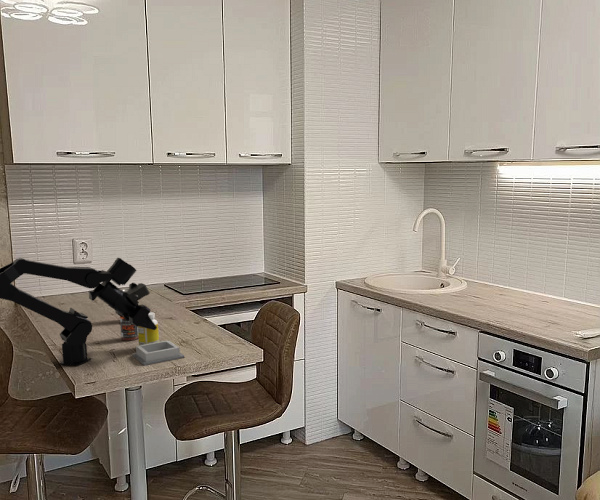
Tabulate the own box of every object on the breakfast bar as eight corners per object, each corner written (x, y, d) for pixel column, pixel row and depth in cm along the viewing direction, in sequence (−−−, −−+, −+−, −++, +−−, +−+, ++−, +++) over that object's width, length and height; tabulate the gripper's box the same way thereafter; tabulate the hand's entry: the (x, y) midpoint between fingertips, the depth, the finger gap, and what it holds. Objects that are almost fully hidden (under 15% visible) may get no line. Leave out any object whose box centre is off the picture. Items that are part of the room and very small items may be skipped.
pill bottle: (161, 344, 185) (159, 311, 183) (157, 350, 179) (154, 315, 177) (141, 345, 185) (139, 311, 183) (136, 351, 178) (134, 316, 177)
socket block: (144, 365, 164) (143, 355, 164) (132, 355, 174) (131, 345, 174) (184, 357, 170) (183, 347, 170) (170, 348, 180) (170, 339, 180)
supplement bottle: (121, 342, 190) (118, 308, 189) (121, 337, 196) (119, 304, 194) (140, 340, 192) (137, 306, 190) (139, 335, 197) (137, 303, 196)
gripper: (141, 279, 169) (179, 311, 176) (122, 272, 184) (158, 301, 192) (116, 310, 166) (156, 341, 173) (99, 300, 181) (136, 328, 188)
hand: (152, 326), depth 182 cm, fingers closed on pill bottle, 6 cm apart
